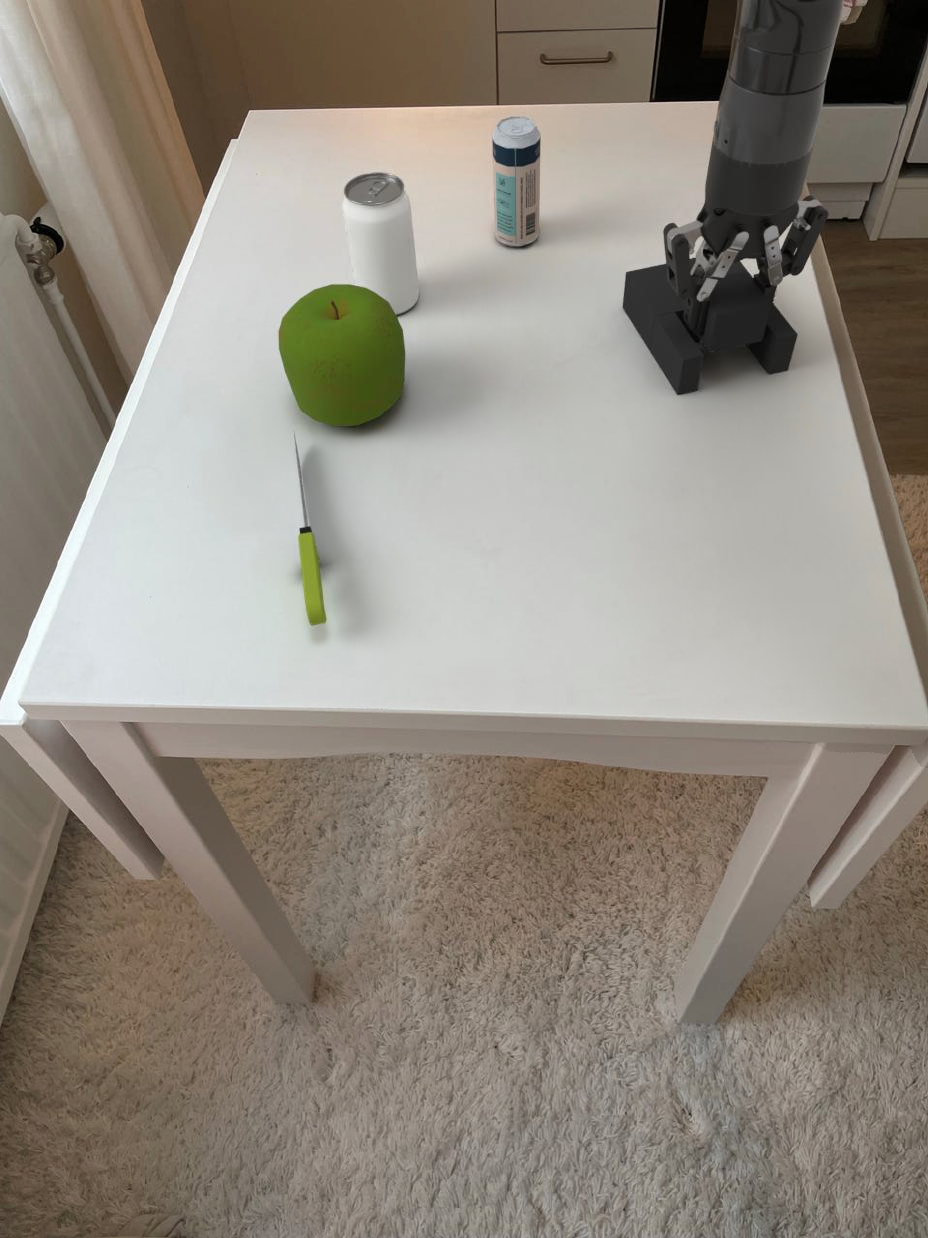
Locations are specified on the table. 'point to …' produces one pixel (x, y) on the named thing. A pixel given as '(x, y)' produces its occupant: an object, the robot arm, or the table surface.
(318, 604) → the kitchen knife
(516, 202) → the beer can
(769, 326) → the black flat forked piece
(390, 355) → the apple
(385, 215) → the can
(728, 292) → the black block
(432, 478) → the table surface
